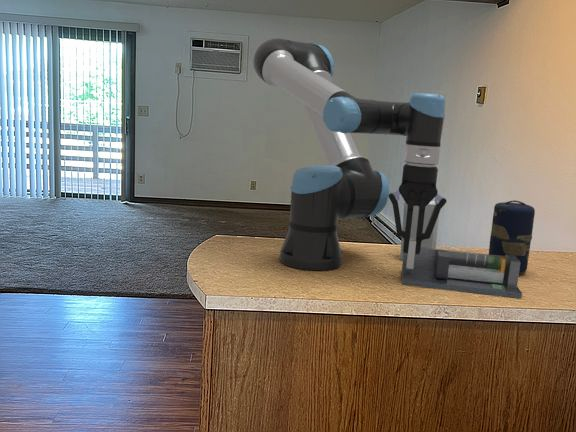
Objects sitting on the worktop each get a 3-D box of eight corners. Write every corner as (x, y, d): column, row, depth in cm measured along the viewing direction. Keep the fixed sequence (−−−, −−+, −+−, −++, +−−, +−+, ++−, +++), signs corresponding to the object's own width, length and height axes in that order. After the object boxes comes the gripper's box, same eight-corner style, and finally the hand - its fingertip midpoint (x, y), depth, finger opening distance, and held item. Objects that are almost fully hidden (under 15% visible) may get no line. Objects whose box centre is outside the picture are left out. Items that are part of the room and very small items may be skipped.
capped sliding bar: (436, 277, 126) (439, 253, 125) (434, 271, 131) (437, 248, 130) (503, 285, 123) (507, 260, 122) (499, 279, 128) (502, 255, 127)
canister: (529, 278, 136) (540, 205, 133) (489, 273, 138) (498, 201, 135) (521, 268, 146) (531, 199, 142) (483, 263, 147) (492, 196, 144)
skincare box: (435, 259, 149) (442, 201, 146) (430, 264, 143) (437, 204, 140) (403, 254, 152) (409, 197, 149) (397, 259, 146) (404, 200, 144)
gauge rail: (402, 284, 124) (405, 253, 123) (401, 270, 136) (404, 241, 134) (521, 298, 120) (526, 265, 118) (510, 282, 131) (514, 252, 130)
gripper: (391, 163, 122) (380, 268, 127) (452, 168, 120) (440, 274, 124) (391, 161, 130) (381, 260, 134) (449, 165, 127) (437, 266, 132)
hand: (409, 267), depth 129 cm, fingers closed
